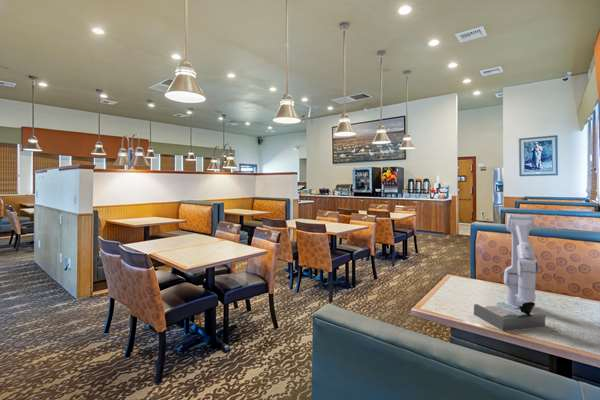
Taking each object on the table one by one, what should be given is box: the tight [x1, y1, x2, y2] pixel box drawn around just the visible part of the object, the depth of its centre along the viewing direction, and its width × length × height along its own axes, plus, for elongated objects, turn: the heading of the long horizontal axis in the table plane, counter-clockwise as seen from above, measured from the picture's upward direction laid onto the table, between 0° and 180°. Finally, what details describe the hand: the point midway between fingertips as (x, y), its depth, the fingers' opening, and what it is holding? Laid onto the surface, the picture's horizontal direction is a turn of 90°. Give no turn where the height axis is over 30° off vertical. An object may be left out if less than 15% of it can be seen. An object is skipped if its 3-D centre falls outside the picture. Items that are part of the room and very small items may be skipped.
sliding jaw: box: [496, 301, 527, 316], centre depth 134 cm, size 2×13×4 cm, turn 11°
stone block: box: [483, 305, 516, 317], centre depth 134 cm, size 12×5×10 cm
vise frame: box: [473, 303, 546, 331], centre depth 132 cm, size 20×16×4 cm
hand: (525, 318), depth 130 cm, fingers closed, pressing on sliding jaw
